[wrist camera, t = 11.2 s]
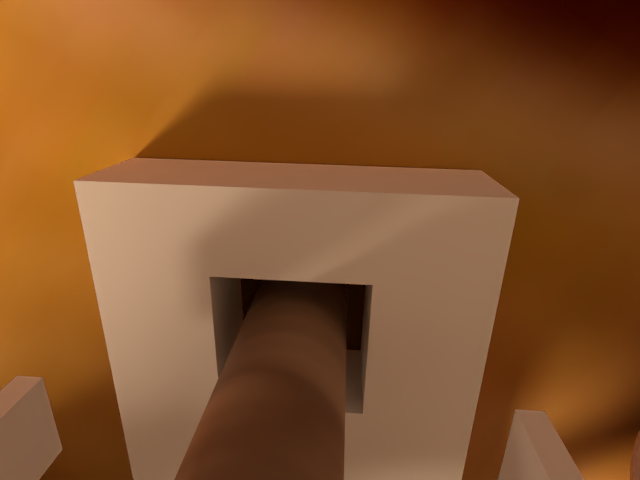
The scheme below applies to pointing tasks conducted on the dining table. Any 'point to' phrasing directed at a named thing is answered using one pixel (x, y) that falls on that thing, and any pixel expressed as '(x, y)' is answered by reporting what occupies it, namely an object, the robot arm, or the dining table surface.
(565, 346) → the dining table surface
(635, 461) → the planter
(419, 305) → the socket deck
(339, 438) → the peg
